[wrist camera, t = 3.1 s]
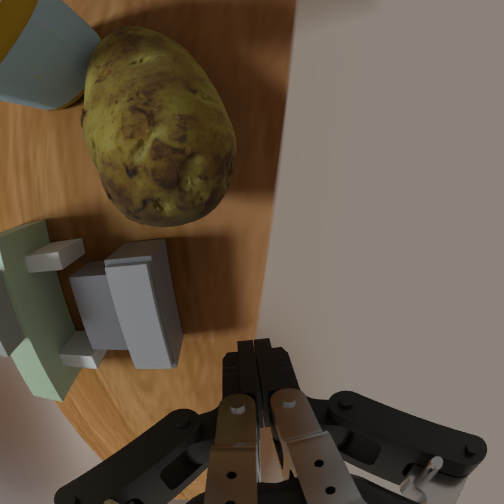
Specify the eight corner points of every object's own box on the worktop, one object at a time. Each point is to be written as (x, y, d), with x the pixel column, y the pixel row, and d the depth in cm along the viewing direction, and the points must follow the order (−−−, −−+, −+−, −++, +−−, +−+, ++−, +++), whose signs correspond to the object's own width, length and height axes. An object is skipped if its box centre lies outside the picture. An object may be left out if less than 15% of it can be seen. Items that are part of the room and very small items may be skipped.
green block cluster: (18, 225, 17) (-50, 255, 9) (78, 212, 17) (4, 243, 9) (60, 356, 21) (22, 413, 13) (118, 360, 21) (87, 430, 13)
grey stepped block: (85, 247, 18) (56, 267, 14) (165, 238, 18) (148, 258, 14) (110, 338, 20) (92, 369, 16) (183, 336, 20) (176, 371, 16)
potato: (221, 29, 14) (220, -39, 7) (240, 202, 18) (249, 227, 11) (108, 53, 14) (56, 7, 6) (122, 220, 18) (63, 254, 10)
